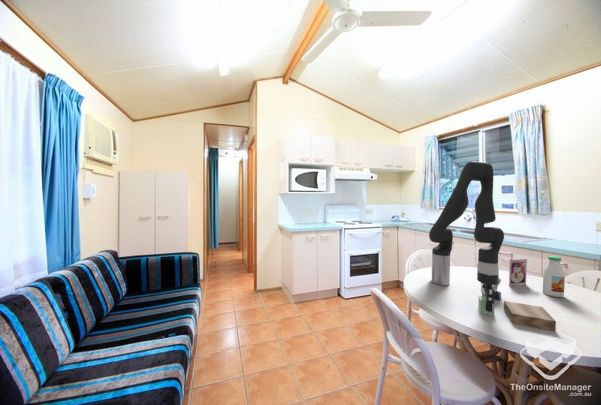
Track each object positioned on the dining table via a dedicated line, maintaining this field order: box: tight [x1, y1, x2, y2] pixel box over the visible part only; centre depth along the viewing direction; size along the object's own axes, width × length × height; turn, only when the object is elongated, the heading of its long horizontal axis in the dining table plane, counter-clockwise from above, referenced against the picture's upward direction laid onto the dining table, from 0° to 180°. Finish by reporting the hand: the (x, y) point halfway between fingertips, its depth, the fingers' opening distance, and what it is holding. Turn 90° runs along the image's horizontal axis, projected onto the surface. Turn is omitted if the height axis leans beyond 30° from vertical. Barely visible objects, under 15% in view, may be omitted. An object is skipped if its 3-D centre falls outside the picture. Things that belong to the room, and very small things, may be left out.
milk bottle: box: [542, 255, 566, 298], centre depth 125 cm, size 8×8×20 cm
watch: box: [492, 277, 502, 301], centre depth 123 cm, size 6×8×11 cm
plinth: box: [503, 300, 557, 332], centre depth 102 cm, size 13×13×4 cm
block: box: [477, 295, 496, 316], centre depth 109 cm, size 5×5×6 cm
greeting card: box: [508, 256, 528, 287], centre depth 141 cm, size 11×7×15 cm, turn 99°
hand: (486, 307), depth 109 cm, fingers open, 8 cm apart
